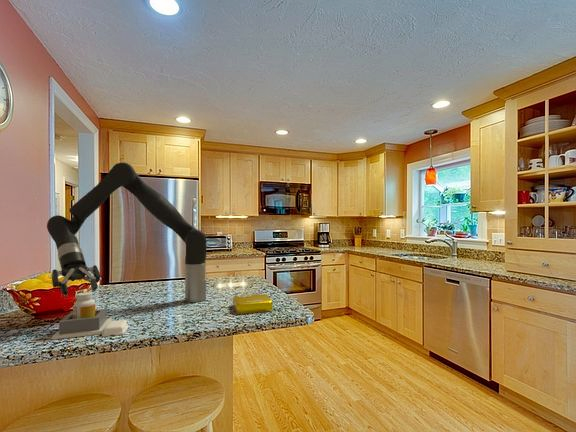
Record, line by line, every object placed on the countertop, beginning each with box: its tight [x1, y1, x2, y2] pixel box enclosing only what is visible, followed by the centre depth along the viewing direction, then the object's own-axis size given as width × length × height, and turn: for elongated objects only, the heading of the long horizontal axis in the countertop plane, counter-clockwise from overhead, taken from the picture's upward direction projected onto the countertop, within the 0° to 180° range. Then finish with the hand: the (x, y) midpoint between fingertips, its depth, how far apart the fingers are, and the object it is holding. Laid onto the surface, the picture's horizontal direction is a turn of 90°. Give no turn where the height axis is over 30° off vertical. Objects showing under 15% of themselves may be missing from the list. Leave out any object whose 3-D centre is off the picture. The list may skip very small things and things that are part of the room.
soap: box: [101, 319, 129, 337], centre depth 102 cm, size 9×7×3 cm
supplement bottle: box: [72, 291, 96, 319], centre depth 104 cm, size 6×6×11 cm
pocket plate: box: [51, 308, 113, 340], centre depth 103 cm, size 14×14×5 cm
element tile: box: [232, 293, 274, 315], centre depth 128 cm, size 15×15×5 cm
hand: (81, 292), depth 106 cm, fingers open, 8 cm apart
